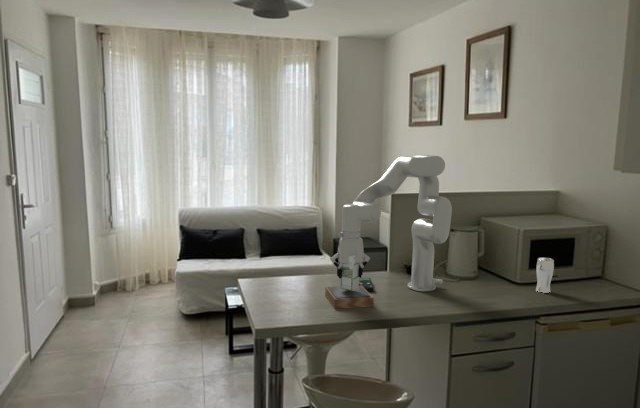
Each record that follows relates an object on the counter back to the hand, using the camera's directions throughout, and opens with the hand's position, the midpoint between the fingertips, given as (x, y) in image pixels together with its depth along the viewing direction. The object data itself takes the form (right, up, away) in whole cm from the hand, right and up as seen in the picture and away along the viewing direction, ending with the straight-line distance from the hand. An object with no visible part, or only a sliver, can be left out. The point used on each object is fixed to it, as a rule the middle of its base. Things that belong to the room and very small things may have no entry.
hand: (349, 277), depth 192 cm
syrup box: (0, -5, +1) cm, 5 cm away
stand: (0, -10, +1) cm, 10 cm away
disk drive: (+6, -8, +21) cm, 23 cm away
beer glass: (+89, -10, +21) cm, 91 cm away
